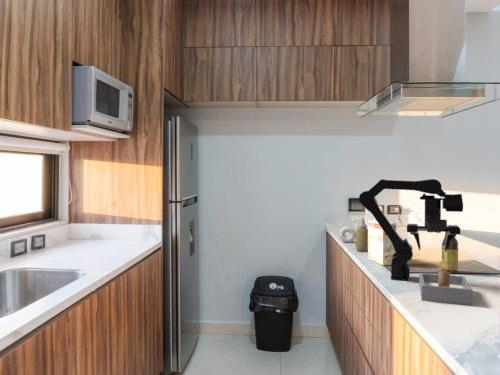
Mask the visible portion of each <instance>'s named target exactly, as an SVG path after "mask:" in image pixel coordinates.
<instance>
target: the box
mask: <svg viewBox="0 0 500 375" xmlns="http://www.w3.org/2000/svg"><path fill="white" fill-rule="evenodd" d="M418 276H419V277H418V279H419V284H418V285H419V286H418V287H419V290H420V291H419V292H420V293H419V294H420V298H421V301H427V302H436V303H447V304H455V305H456V304H457V305H463V306H464V305H466V306H474V305H473V304H474V301H473V299H474V294H473V292H474V290H473V288H472V286H471V285H470V283H469V282H468V279H467V278H466V276H464V275H463V276H462V275H451V274H450V287H442V286H438V282H439V273H438V274H437V273H436V274H435V273H423V272H419V275H418Z"/></svg>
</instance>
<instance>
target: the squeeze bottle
mask: <svg viewBox="0 0 500 375" xmlns="http://www.w3.org/2000/svg"><path fill="white" fill-rule="evenodd" d="M355 232H356V237H355V239H354V245H355V248H356V251H358V252H360V253H361V252H362V253H363V252H365V253H366V252H368V224H365V218H364V217H361V219H360V223H358V224H357V228H356V230H355Z"/></svg>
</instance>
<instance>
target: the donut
mask: <svg viewBox="0 0 500 375" xmlns="http://www.w3.org/2000/svg"><path fill="white" fill-rule="evenodd" d="M347 232H348V233H349V234H350V235H349V236H346V233H347ZM338 233H339V234H338V235H339V236H338V237H339V239H340V240H341V241H342V242H344V243H347V244H348V243H352V242H353V241H355V238H356V230H355V229H354V228H353V227H352V226H344V227H342V228H340V231H339V232H338Z"/></svg>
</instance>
